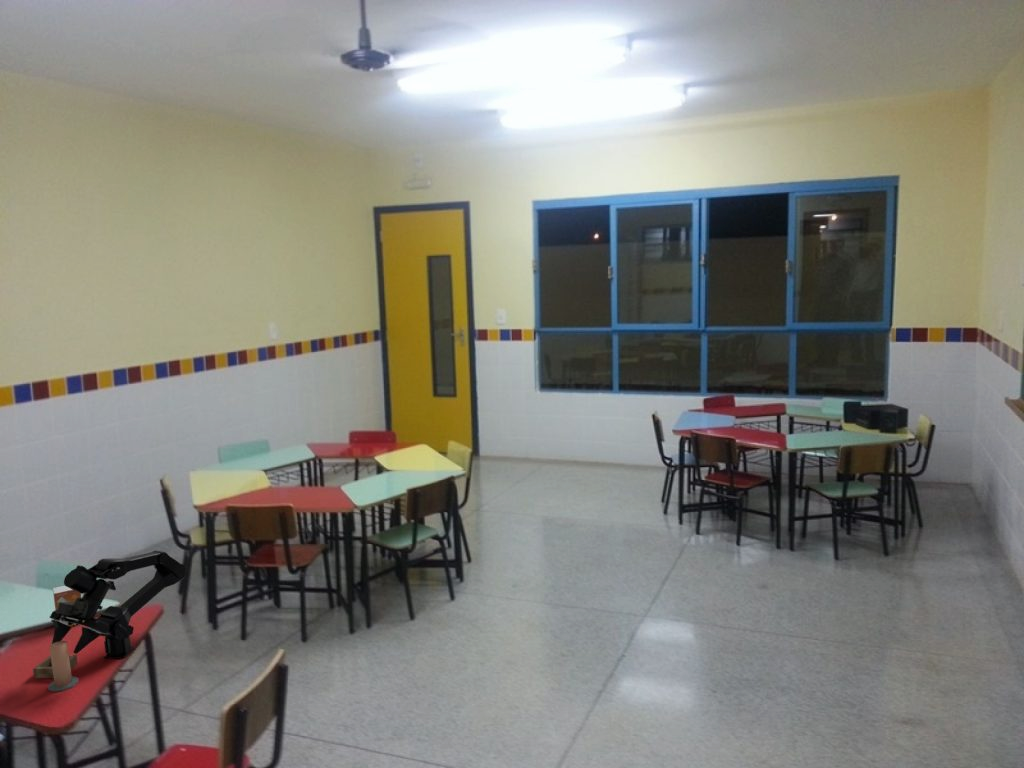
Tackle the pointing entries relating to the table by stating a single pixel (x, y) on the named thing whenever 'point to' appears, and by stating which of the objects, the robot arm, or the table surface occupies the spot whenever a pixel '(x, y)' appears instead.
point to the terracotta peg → (60, 663)
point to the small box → (65, 596)
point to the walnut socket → (50, 667)
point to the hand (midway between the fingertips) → (63, 650)
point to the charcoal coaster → (57, 689)
